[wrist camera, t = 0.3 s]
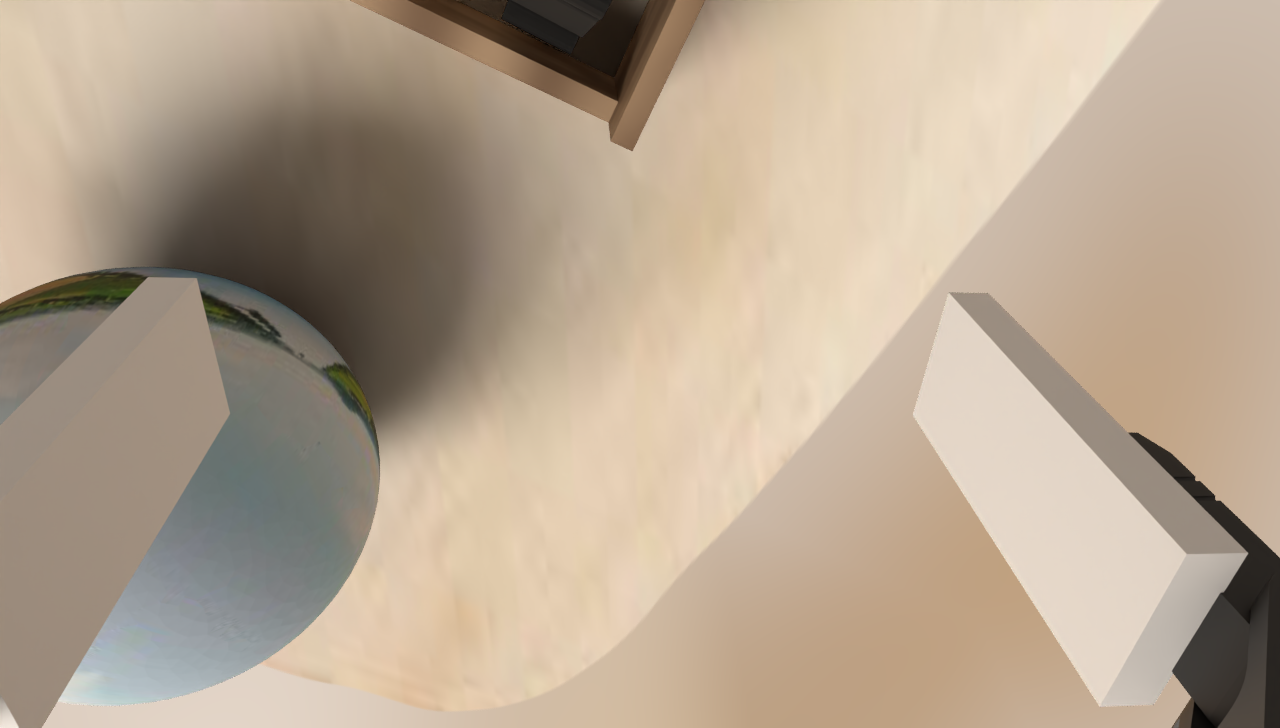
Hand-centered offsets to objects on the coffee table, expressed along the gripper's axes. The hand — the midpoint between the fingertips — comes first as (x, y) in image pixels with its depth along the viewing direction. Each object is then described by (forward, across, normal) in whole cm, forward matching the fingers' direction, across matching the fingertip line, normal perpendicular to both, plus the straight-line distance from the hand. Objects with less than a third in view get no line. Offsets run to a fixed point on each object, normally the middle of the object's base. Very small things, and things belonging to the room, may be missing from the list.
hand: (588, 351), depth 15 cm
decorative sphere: (+29, -19, -19) cm, 40 cm away
